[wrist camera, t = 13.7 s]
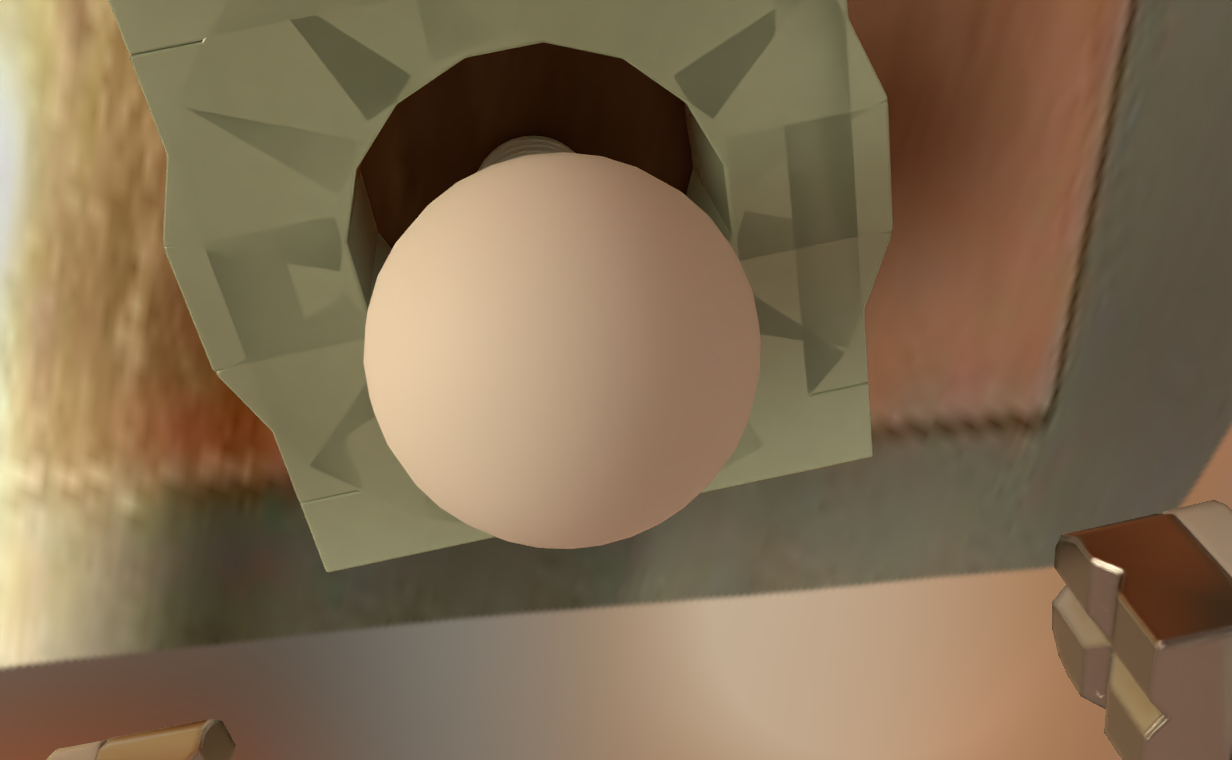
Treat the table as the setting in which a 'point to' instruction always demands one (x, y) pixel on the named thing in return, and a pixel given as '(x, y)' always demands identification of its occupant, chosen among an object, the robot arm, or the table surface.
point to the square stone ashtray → (355, 252)
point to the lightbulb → (562, 348)
